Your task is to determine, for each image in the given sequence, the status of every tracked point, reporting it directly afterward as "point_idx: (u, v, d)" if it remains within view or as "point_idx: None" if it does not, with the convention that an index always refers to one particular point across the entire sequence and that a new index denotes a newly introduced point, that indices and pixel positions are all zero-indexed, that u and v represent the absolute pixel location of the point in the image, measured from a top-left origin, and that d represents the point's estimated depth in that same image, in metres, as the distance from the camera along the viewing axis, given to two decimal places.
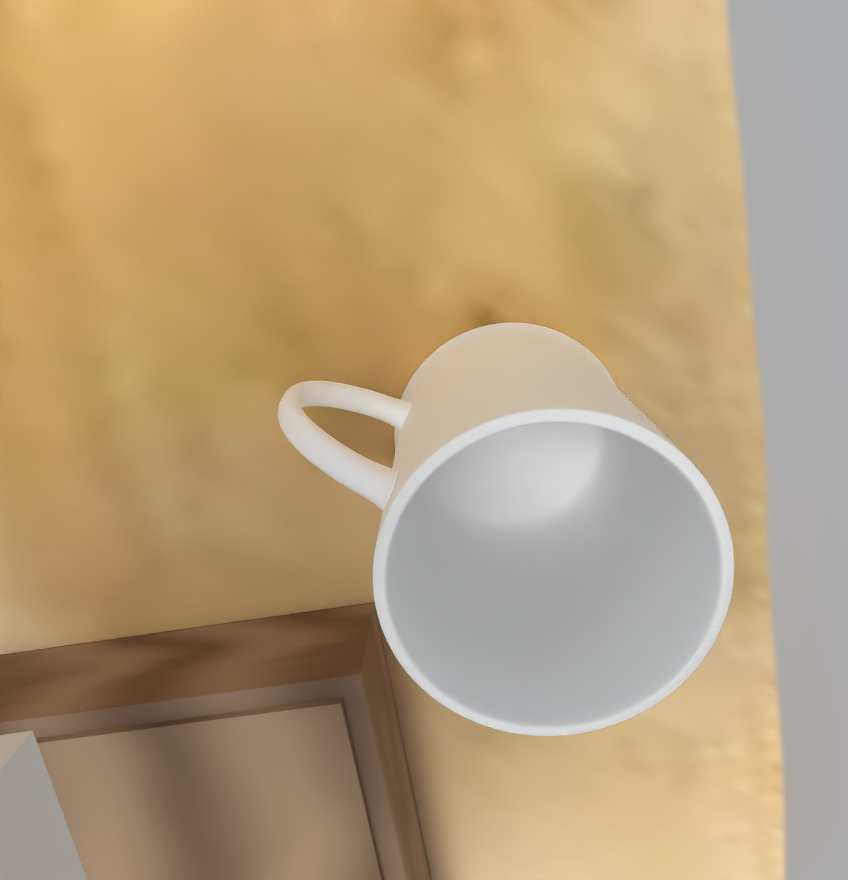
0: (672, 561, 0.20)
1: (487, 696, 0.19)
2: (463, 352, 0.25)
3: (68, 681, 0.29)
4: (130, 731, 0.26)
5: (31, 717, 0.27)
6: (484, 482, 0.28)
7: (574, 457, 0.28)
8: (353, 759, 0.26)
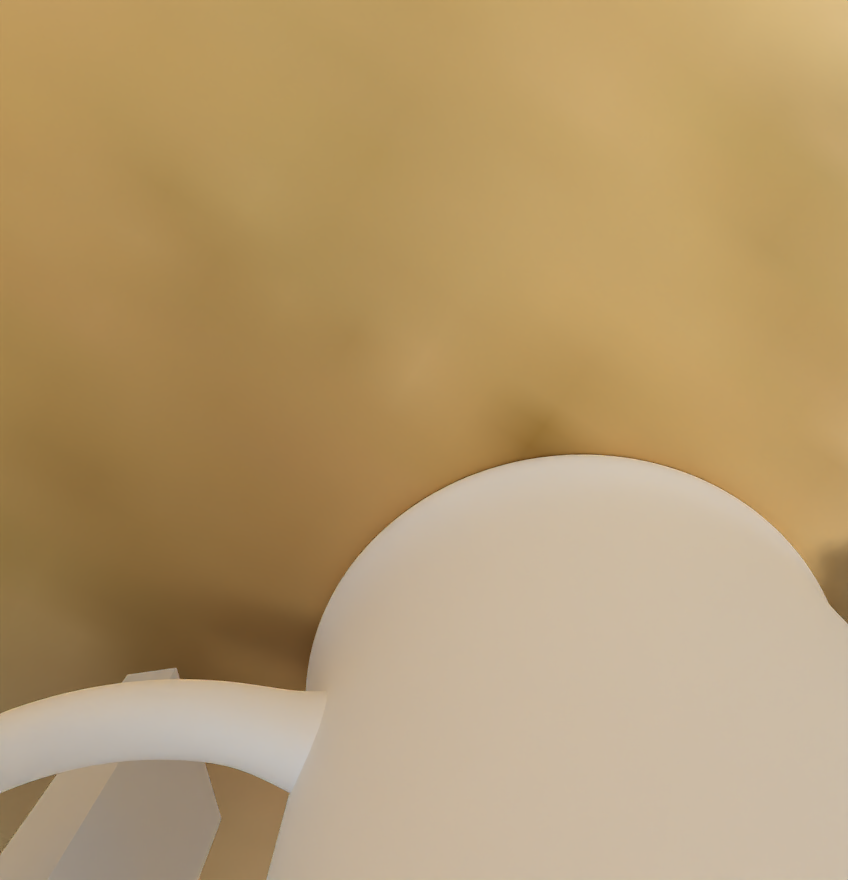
0: None
1: None
2: (467, 566, 0.09)
3: None
4: None
5: None
6: None
7: None
8: None
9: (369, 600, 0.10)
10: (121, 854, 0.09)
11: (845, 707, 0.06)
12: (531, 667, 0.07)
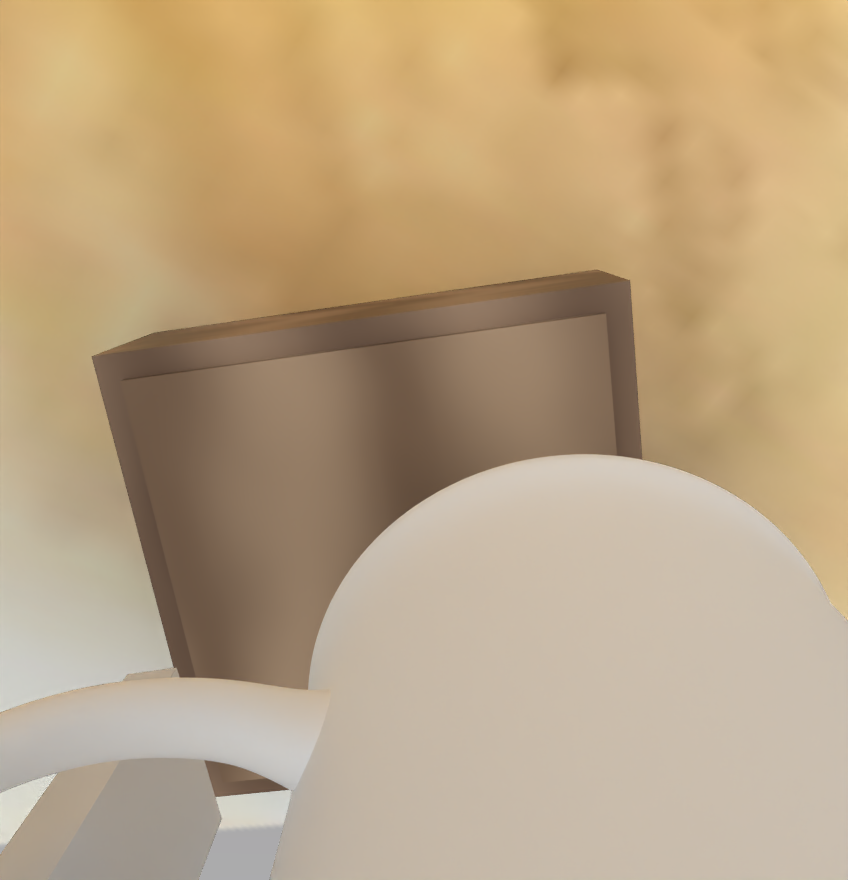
0: None
1: None
2: (470, 565, 0.09)
3: (258, 325, 0.25)
4: (351, 349, 0.22)
5: (231, 336, 0.23)
6: None
7: None
8: (611, 391, 0.22)
9: (372, 599, 0.10)
10: (121, 854, 0.09)
11: None
12: (535, 666, 0.07)
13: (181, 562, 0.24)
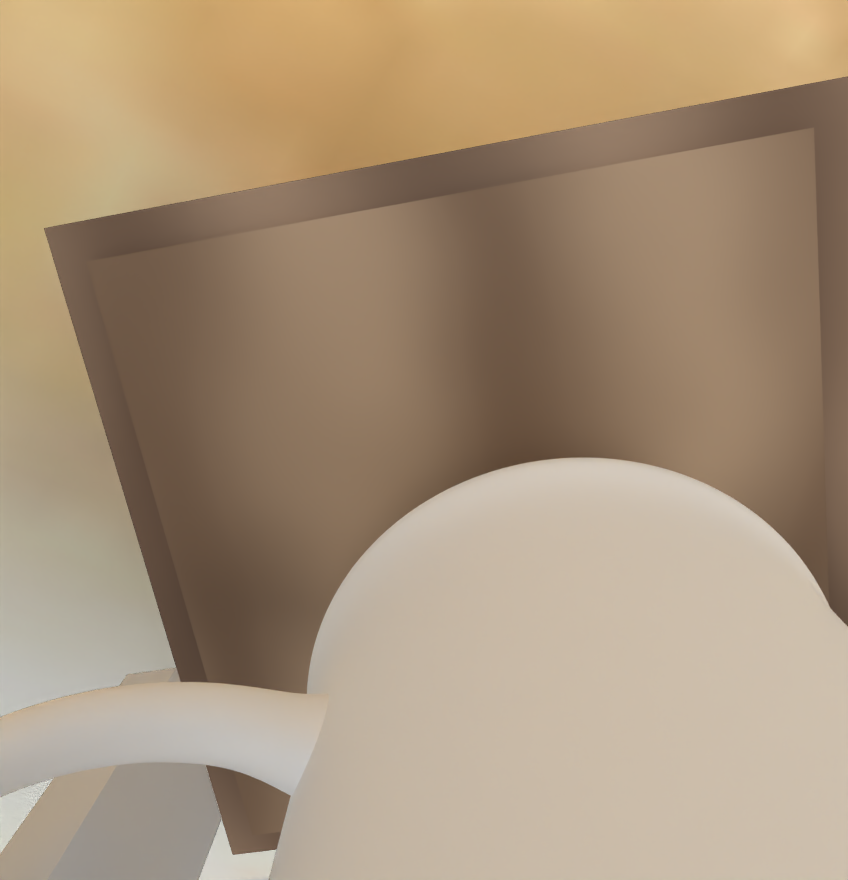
0: None
1: None
2: (468, 569, 0.09)
3: None
4: (427, 199, 0.15)
5: (248, 190, 0.15)
6: None
7: None
8: (816, 250, 0.15)
9: (370, 603, 0.10)
10: (121, 854, 0.09)
11: (847, 712, 0.06)
12: (533, 671, 0.07)
13: (185, 529, 0.17)
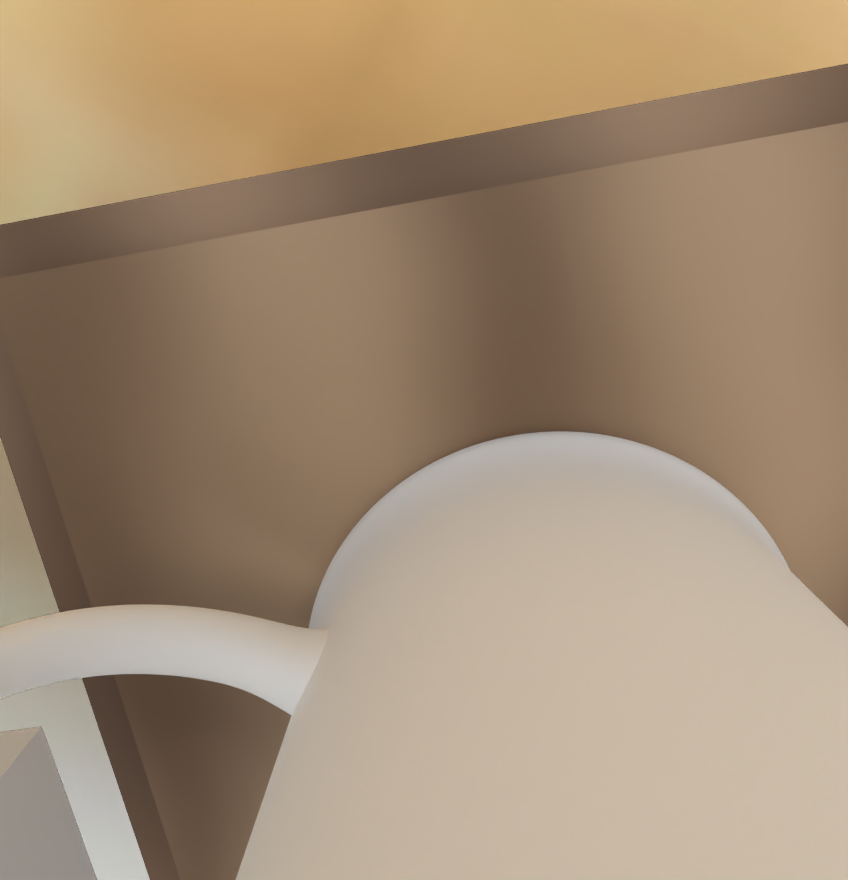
0: None
1: None
2: (459, 518, 0.10)
3: None
4: (425, 200, 0.11)
5: (194, 188, 0.12)
6: None
7: None
8: None
9: (369, 553, 0.11)
10: None
11: (780, 621, 0.07)
12: (511, 586, 0.08)
13: None
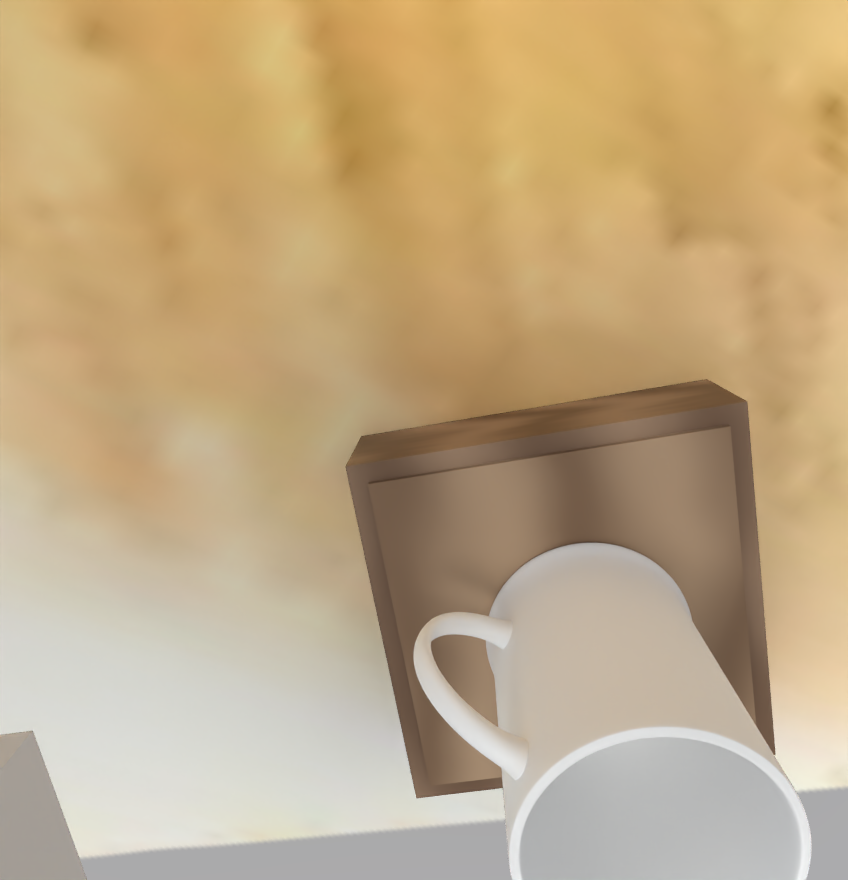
0: (749, 813, 0.23)
1: None
2: (558, 581, 0.29)
3: (457, 435, 0.33)
4: (540, 457, 0.30)
5: (449, 449, 0.31)
6: None
7: None
8: (735, 482, 0.30)
9: (521, 592, 0.30)
10: None
11: (656, 617, 0.26)
12: (581, 607, 0.26)
13: (406, 616, 0.32)
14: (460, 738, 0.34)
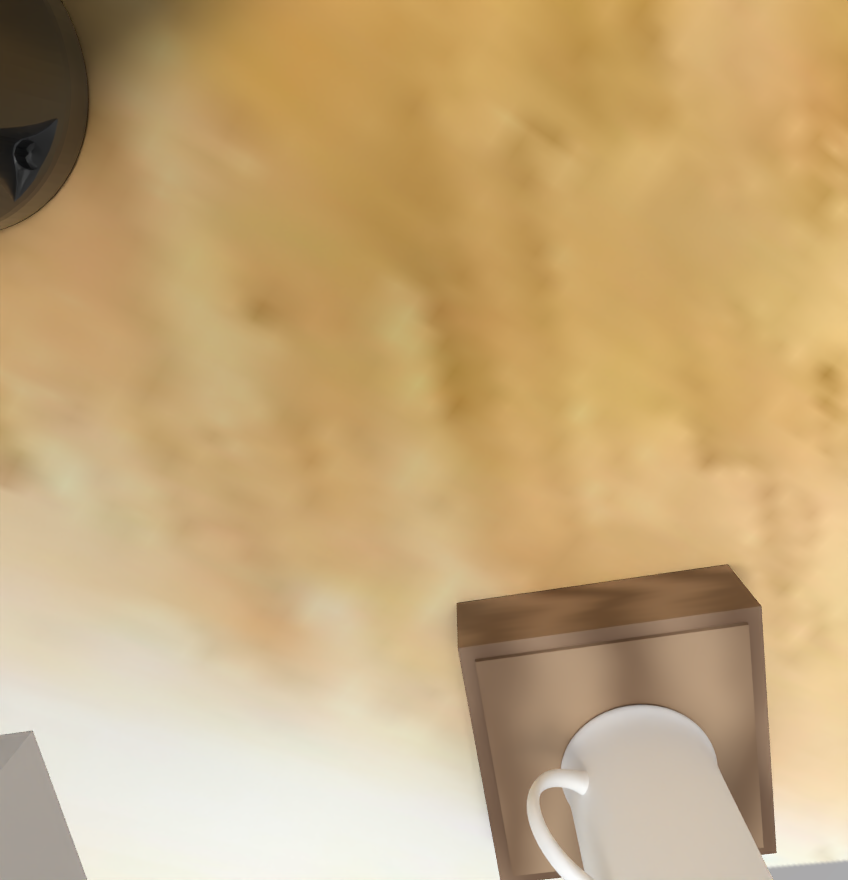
0: None
1: None
2: (622, 743, 0.39)
3: (538, 616, 0.43)
4: (606, 644, 0.40)
5: (537, 636, 0.41)
6: None
7: None
8: (751, 662, 0.40)
9: (592, 746, 0.40)
10: None
11: (698, 784, 0.36)
12: (643, 774, 0.36)
13: (500, 755, 0.42)
14: None
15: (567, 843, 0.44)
